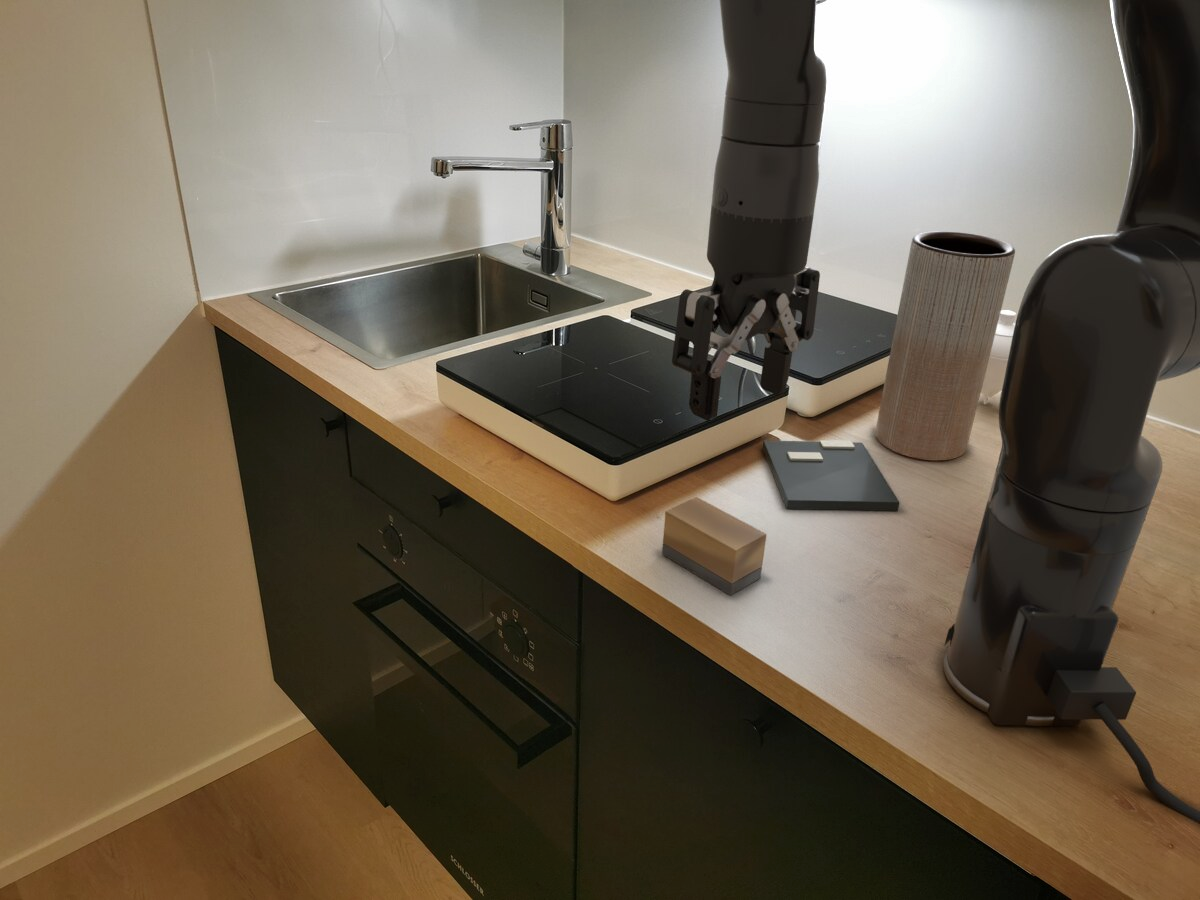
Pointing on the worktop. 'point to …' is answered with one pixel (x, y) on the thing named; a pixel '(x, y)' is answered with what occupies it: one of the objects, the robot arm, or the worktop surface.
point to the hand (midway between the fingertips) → (739, 403)
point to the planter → (942, 342)
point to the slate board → (829, 478)
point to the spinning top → (999, 355)
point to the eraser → (713, 545)
